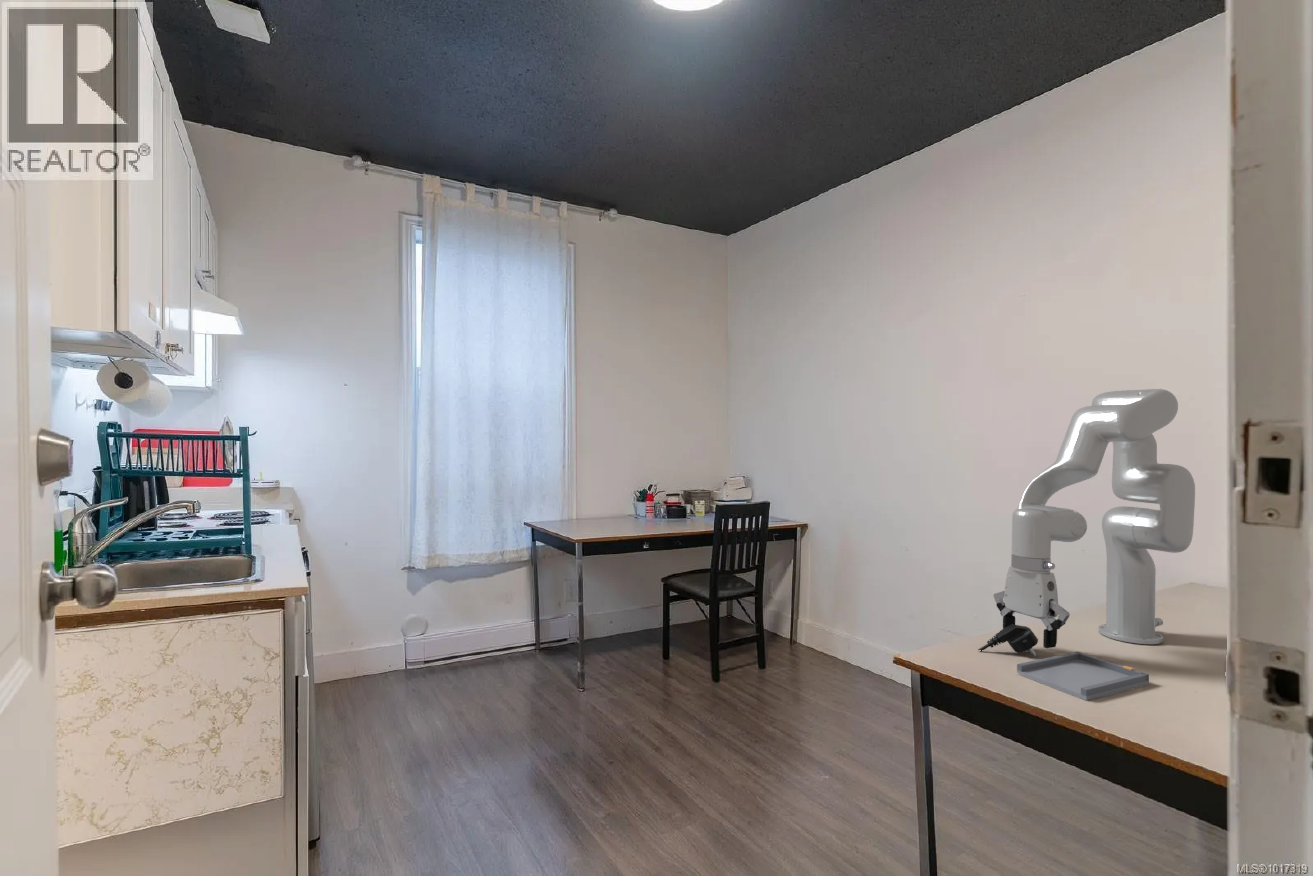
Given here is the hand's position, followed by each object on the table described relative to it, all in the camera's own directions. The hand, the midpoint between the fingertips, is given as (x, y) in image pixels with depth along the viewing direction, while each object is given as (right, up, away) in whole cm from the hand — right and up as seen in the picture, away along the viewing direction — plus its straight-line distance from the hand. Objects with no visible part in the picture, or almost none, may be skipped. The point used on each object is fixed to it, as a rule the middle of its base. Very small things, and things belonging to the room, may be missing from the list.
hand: (1028, 640), depth 140 cm
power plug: (-4, -4, +1) cm, 6 cm away
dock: (+3, -4, -14) cm, 14 cm away
